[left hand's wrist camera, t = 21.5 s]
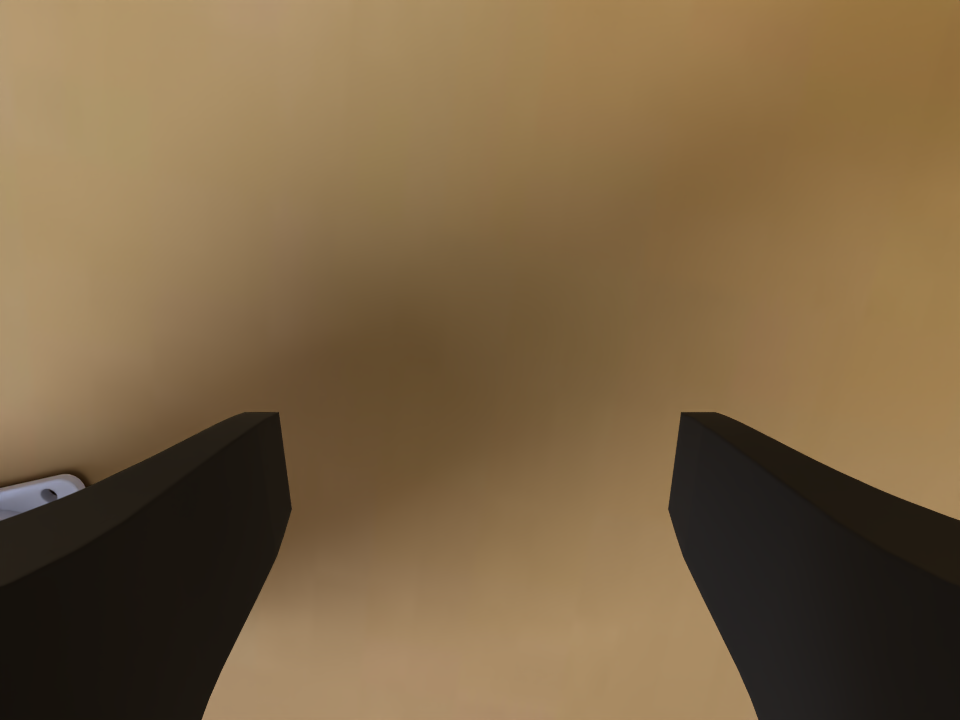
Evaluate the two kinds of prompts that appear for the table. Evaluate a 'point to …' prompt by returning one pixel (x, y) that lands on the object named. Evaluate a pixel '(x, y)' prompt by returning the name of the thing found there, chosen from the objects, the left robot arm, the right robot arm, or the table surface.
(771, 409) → the table surface
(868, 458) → the table surface
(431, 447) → the table surface
